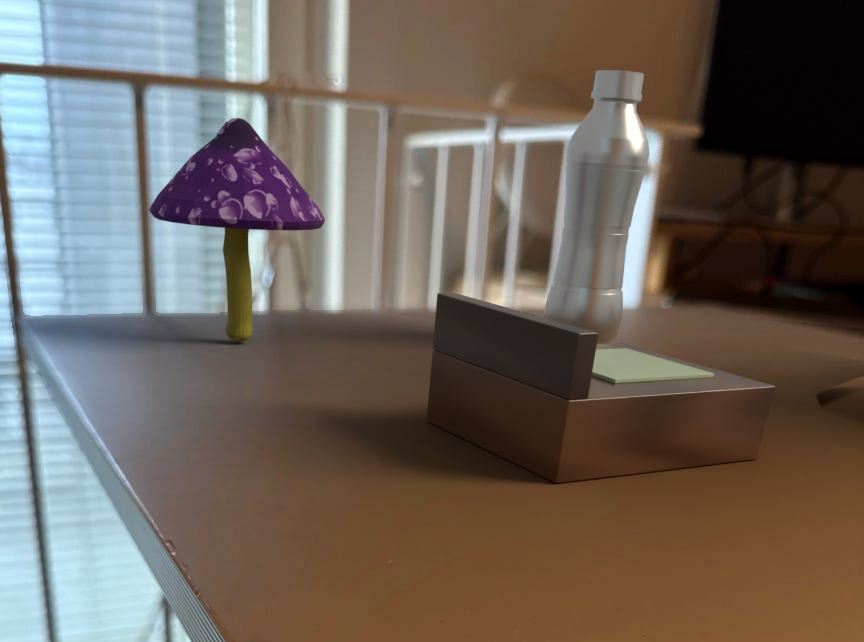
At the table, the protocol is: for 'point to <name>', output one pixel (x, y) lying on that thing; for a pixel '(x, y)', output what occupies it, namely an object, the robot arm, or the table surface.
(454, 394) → the metal stand with backrest
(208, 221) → the decorative mushroom
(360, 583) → the table surface
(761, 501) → the table surface
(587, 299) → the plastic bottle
